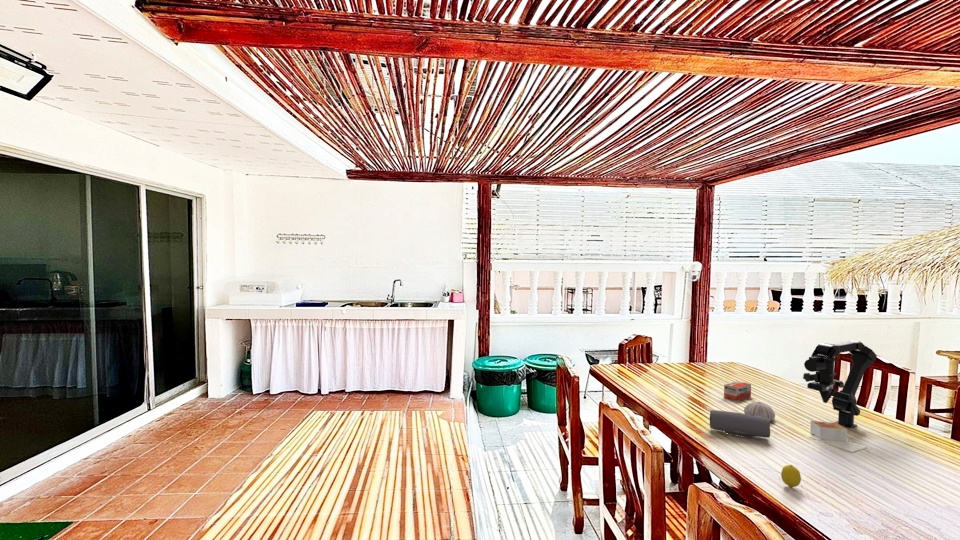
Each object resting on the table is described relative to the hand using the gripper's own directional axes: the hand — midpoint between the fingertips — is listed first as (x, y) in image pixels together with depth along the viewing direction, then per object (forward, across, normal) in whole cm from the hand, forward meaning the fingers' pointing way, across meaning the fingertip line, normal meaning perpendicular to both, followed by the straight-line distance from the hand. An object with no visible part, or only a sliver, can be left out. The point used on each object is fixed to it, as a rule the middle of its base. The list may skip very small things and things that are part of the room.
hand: (825, 402), depth 200 cm
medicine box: (+12, -4, -46) cm, 48 cm away
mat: (+12, +14, +12) cm, 22 cm away
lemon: (+12, +73, +27) cm, 79 cm away
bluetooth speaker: (+12, +47, -10) cm, 50 cm away
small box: (+9, +7, +11) cm, 16 cm away
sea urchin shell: (+12, +17, -20) cm, 29 cm away
